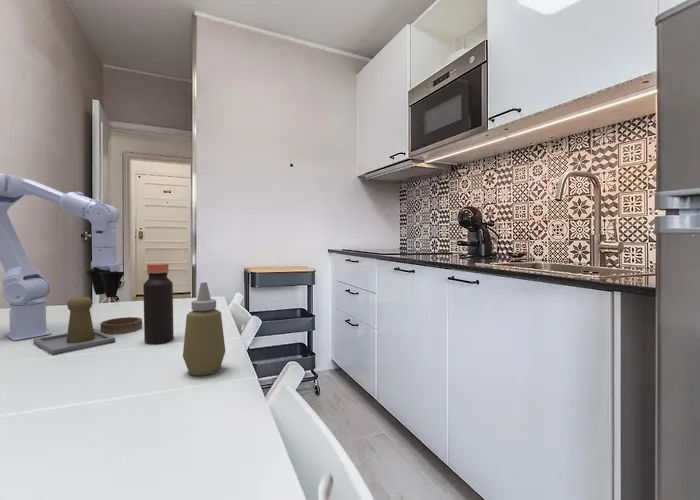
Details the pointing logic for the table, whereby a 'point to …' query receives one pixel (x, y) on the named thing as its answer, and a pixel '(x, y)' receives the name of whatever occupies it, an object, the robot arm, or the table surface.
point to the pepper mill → (80, 320)
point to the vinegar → (158, 305)
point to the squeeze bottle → (203, 335)
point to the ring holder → (121, 325)
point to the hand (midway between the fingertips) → (105, 295)
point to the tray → (59, 344)
